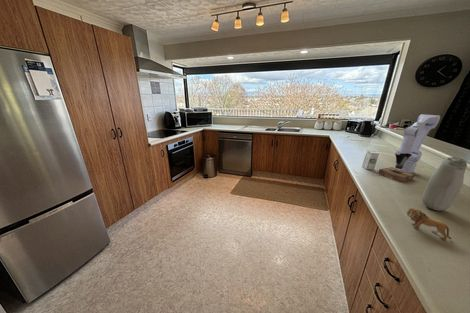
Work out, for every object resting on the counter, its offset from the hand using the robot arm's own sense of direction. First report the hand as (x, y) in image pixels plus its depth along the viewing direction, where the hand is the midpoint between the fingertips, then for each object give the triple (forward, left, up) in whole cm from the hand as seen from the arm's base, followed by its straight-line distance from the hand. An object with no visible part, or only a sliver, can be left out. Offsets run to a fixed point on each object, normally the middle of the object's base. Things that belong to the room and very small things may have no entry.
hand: (400, 163), depth 121 cm
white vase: (+25, +31, -11) cm, 41 cm away
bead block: (0, 0, -10) cm, 10 cm away
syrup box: (+5, -16, -11) cm, 20 cm away
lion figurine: (+51, +39, -11) cm, 66 cm away
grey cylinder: (0, 0, -4) cm, 4 cm away
